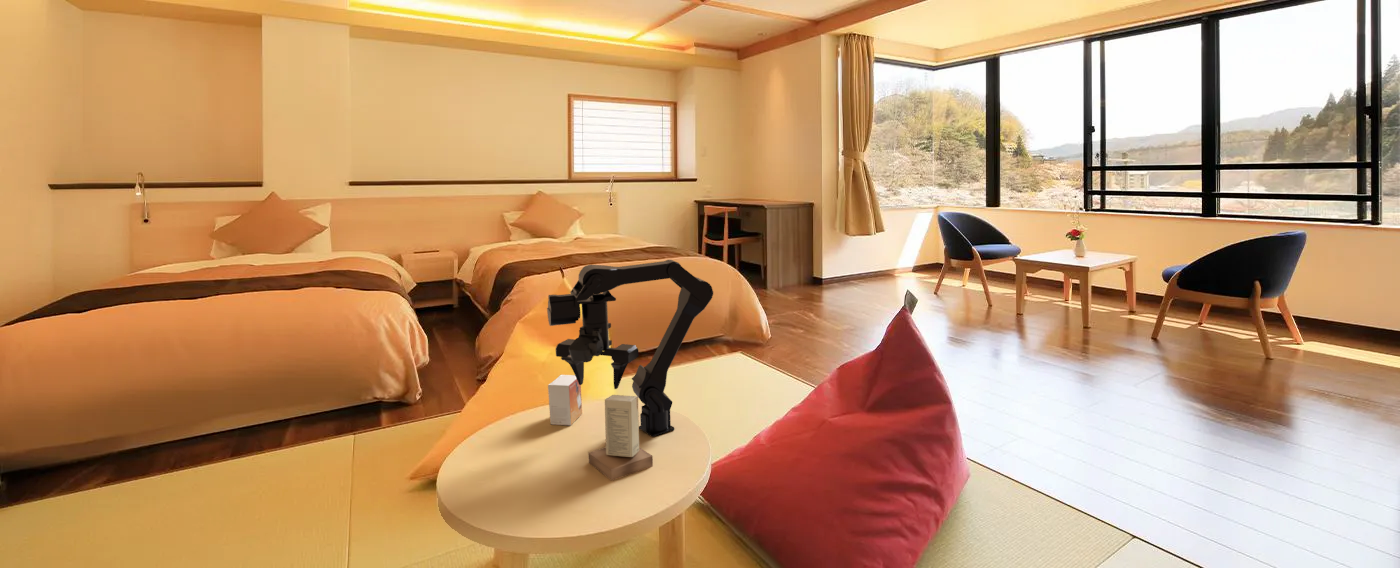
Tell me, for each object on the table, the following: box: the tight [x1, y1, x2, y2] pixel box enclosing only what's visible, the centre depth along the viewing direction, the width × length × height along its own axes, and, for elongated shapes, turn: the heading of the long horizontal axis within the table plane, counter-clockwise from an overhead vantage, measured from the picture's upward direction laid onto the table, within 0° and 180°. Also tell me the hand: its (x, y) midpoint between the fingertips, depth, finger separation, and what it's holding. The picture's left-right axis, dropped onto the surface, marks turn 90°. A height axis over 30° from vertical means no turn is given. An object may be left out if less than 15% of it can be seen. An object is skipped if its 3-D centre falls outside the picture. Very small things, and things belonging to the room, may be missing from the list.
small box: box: [547, 374, 583, 426], centre depth 160 cm, size 8×6×10 cm
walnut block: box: [587, 446, 654, 481], centre depth 137 cm, size 10×10×3 cm
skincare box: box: [604, 394, 640, 457], centre depth 136 cm, size 6×4×12 cm
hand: (598, 386), depth 147 cm, fingers open, 9 cm apart
